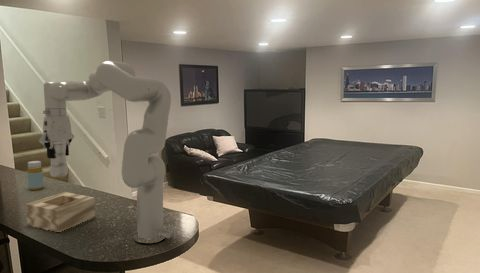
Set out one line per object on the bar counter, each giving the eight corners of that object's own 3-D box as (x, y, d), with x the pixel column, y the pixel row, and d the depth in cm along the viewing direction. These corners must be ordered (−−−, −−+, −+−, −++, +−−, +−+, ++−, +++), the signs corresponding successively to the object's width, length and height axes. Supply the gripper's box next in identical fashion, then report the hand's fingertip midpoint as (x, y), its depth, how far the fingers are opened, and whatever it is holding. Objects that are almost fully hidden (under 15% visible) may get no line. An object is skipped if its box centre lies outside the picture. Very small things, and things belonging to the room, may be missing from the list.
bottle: (30, 187, 188) (28, 160, 186) (44, 186, 190) (43, 160, 188) (27, 191, 182) (25, 163, 180) (41, 190, 184) (40, 163, 182)
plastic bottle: (51, 175, 142) (48, 127, 139) (69, 174, 144) (66, 127, 141) (48, 179, 136) (45, 129, 133) (67, 178, 138) (65, 129, 135)
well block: (95, 217, 148) (94, 197, 146) (59, 233, 131) (57, 211, 130) (65, 210, 154) (64, 191, 153) (27, 225, 138) (25, 203, 137)
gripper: (42, 114, 127) (45, 161, 130) (80, 111, 143) (82, 154, 145) (29, 113, 130) (32, 159, 132) (67, 111, 146) (69, 152, 148)
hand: (58, 156), depth 139 cm, fingers closed on plastic bottle, 6 cm apart
